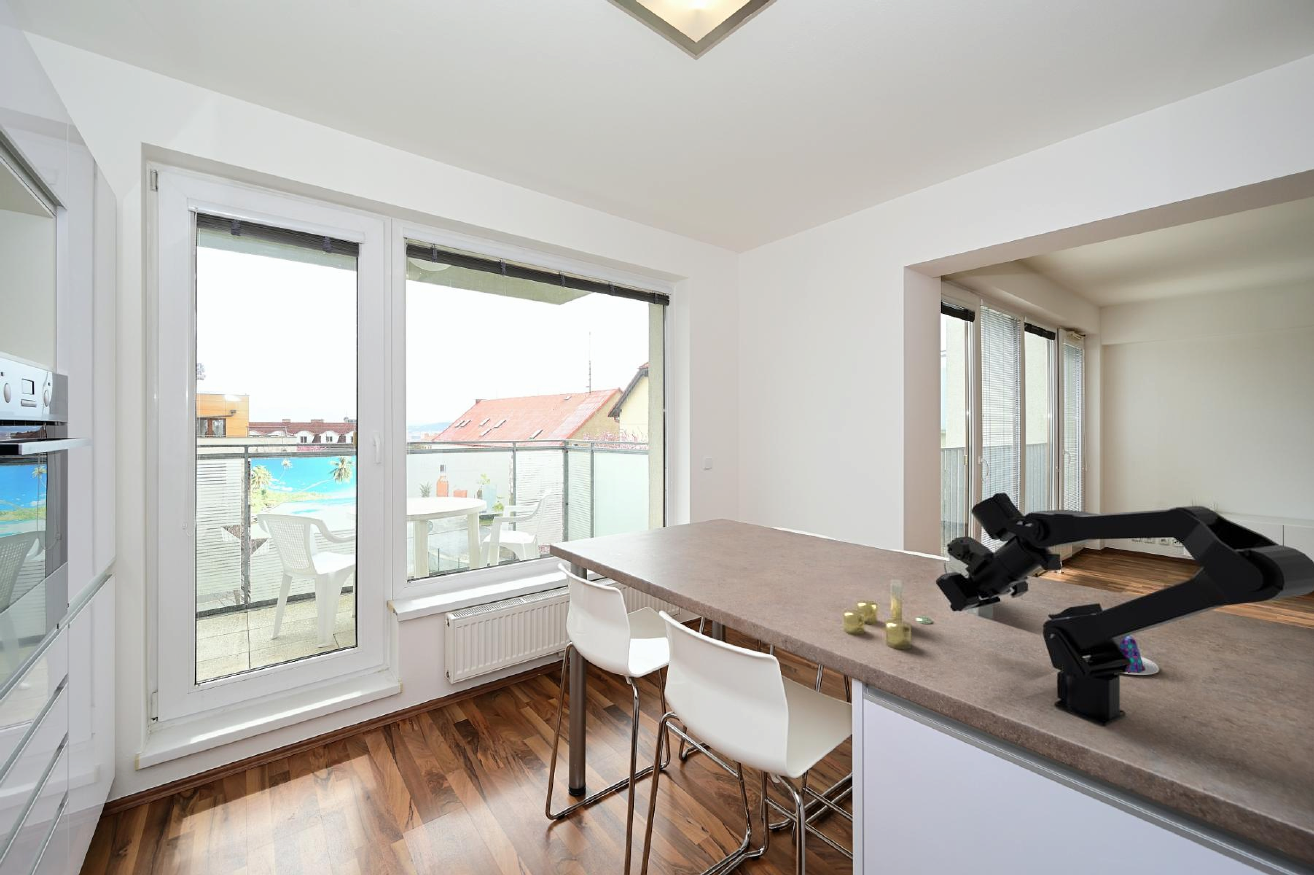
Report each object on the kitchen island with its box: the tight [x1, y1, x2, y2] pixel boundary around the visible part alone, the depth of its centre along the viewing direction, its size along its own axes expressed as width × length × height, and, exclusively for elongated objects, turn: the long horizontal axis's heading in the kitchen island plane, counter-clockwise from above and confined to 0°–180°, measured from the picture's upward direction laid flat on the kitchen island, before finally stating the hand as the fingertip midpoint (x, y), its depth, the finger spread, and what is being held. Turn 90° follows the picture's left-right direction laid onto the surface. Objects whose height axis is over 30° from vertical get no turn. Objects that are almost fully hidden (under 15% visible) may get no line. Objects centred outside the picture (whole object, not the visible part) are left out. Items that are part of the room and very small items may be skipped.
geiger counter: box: [943, 554, 994, 622], centre depth 130 cm, size 14×6×25 cm
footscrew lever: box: [885, 578, 912, 650], centre depth 107 cm, size 15×4×9 cm, turn 158°
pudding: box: [1118, 635, 1160, 676], centre depth 97 cm, size 12×12×5 cm
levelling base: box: [843, 600, 932, 636], centre depth 108 cm, size 22×22×5 cm
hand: (952, 608), depth 102 cm, fingers closed
